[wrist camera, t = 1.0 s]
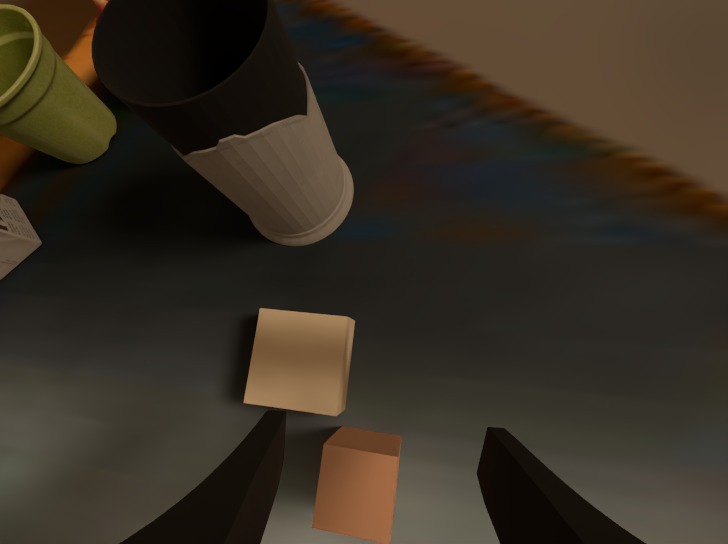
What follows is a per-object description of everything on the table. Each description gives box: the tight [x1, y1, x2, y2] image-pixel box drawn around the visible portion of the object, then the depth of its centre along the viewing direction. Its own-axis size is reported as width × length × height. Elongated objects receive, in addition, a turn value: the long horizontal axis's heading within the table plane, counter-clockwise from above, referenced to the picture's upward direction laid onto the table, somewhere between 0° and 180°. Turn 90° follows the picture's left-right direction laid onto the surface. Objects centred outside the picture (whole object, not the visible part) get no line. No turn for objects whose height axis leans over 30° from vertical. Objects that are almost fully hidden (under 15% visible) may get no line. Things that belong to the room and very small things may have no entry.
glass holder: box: [92, 0, 354, 246], centre depth 22 cm, size 9×14×15 cm, turn 17°
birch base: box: [244, 308, 355, 416], centre depth 24 cm, size 6×6×3 cm
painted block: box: [312, 426, 401, 544], centre depth 21 cm, size 4×4×5 cm
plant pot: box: [0, 4, 117, 164], centre depth 28 cm, size 9×9×9 cm
